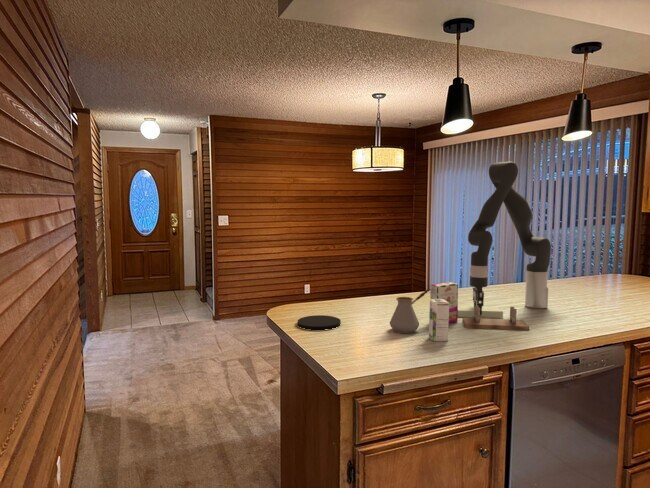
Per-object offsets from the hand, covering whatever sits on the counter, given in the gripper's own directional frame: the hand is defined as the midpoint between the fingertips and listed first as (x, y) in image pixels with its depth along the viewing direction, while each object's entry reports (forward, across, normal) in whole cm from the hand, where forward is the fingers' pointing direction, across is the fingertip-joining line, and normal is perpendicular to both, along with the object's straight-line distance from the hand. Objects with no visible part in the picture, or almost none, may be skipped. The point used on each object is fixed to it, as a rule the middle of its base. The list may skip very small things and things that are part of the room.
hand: (477, 312), depth 201 cm
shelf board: (+1, 0, 0) cm, 1 cm away
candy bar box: (+2, -14, +16) cm, 21 cm away
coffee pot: (+2, -25, +29) cm, 38 cm away
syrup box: (+2, -38, +20) cm, 43 cm away
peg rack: (+1, -16, -4) cm, 16 cm away
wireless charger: (+3, -24, +67) cm, 71 cm away
